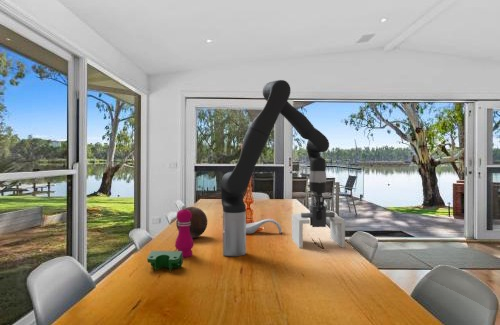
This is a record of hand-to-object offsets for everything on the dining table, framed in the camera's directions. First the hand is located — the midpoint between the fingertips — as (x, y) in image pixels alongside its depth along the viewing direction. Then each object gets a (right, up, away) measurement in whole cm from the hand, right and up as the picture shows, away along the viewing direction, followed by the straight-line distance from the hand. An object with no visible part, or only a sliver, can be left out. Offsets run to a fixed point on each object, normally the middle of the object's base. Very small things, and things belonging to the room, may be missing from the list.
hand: (317, 218), depth 176 cm
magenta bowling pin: (-57, -12, -20) cm, 62 cm away
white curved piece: (-26, -11, +26) cm, 39 cm away
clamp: (-61, -12, -39) cm, 73 cm away
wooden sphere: (-59, -11, +14) cm, 62 cm away
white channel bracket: (0, -11, 0) cm, 11 cm away
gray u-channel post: (0, -3, 0) cm, 3 cm away
